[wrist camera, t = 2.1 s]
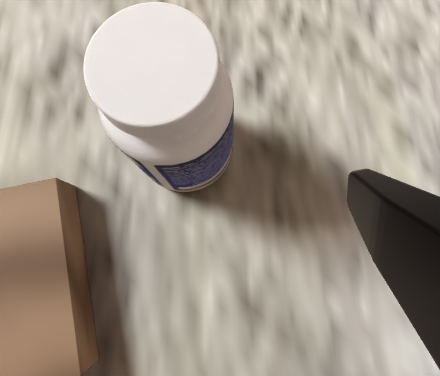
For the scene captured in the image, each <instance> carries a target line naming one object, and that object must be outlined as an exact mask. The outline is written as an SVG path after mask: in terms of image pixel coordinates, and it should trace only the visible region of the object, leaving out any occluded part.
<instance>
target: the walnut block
mask: <svg viewBox="0 0 440 376" xmlns="http://www.w3.org/2000/svg"><path fill="white" fill-rule="evenodd" d="M98 360H99V355H98V348H97V340H96V333H95V326H94V318H93V311H92V304H91V296H90V289H89V282H88V274H87V267H86V260H85V252H84V245H83V237H82V230H81V223H80V215H79V208H78V201H77V193H76V186H74V185H71V184H69V183H67V182H64V181H62V180H59V179H57V178H52V179H48V180H43V181H38V182H33V183H28V184H23V185H18V186H14V187H9V188H4V189H0V376H80V375H82V374H83V373H84V372H85V371H86V370H87V369H89V368H90V367H91V366H92V365H93V364H95V363H96V362H97V361H98Z"/></svg>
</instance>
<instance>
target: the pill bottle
mask: <svg viewBox="0 0 440 376" xmlns="http://www.w3.org/2000/svg"><path fill="white" fill-rule="evenodd" d="M84 78H85V83H86V87H87V89H88V92H89V94H90V97H91V98H92V100H93V101H94V103H95V104H96V106H97V107H98V110H99V115H100V119H101V122H102V125H103V127H104V129H105V131H106V133H107V134H108V136H109V137H110V139H111V140H112V141H113V143H114V144H115V145H116V146H117V147H118V148H119V149H120V150H121V151H122V152H123V153H124V154H125V155H126V156H128V157H129V158H130V159H131V160H132V161H133V162H134V163H135V164H136V165H137V166H138V167H139V168H140V169H141V170H142V171H143V172H144V173H146V174H147V175H148V176H149V177H150V178H151V179H152V180H153V181H155V182H156V183H158V184H159V185H161V186H163V187H165V188H167V189H170V190H174V191H180V192H190V191H195V190H199V189H202V188H204V187H207V186H208V185H210V184H212V183H213V182H214V181H216V180H217V179H218V178H219V177H220V176H221V175H222V173H223V172H224V171H225V169H226V168H227V166H228V164H229V161H230V159H231V155H232V150H233V111H234V98H233V89H232V84H231V80H230V78H229V75H228V72H227V71H226V69H225V67H224V65H223V64H222V62H221V61H220V58H219V51H218V48H217V44H216V41H215V39H214V37H213V35H212V33H211V31H210V30H209V28H208V27H207V26H206V25H205V23H204V22H203V21H202V20H201V19H200V18H199V17H197V16H196V15H195V14H193V13H192V12H190V11H188V10H187V9H185V8H182V7H180V6H177V5H173V4H169V3H164V2H147V3H141V4H137V5H133V6H130V7H127V8H125V9H123V10H121V11H119V12H117V13H116V14H114V15H113V16H111V17H110V18H109V19H107V20H106V21H105V22H104V23H103V24H102V25H101V26H100V27H99V28H98V30H97V31H96V32H95V34H94V35H93V37H92V39H91V40H90V42H89V45H88V47H87V50H86V53H85V58H84Z"/></svg>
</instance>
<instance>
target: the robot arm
mask: <svg viewBox="0 0 440 376" xmlns="http://www.w3.org/2000/svg"><path fill="white" fill-rule="evenodd" d="M347 203H348V207H349V210H350V212H351V214H352V216H353V218H354V221H355V223H356V225H357V227H358V229H359V231H360V234H361V236H362V238H363V240H364V242H365V244H366V247H367V249H368V251H369V253H370V255H371V257H372V259H373V261H374V263H375V264H376V266H377V268H378V270H379V271H380V273H381V274H382V276H383V278H384V279H385V281H386V283H387V284H388V286H389V288H390V289H391V291H392V292H393V294H394V296H395V297H396V299H397V301H398V302H399V304H400V305H401V307H402V309H403V310H404V312H405V314H406V315H407V317H408V319H409V320H410V322H411V323H412V325H413V327H414V328H415V330H416V332H417V333H418V335H419V336H420V338H421V340H422V341H423V343H424V345H425V346H426V348H427V350H428V351H429V353H430V354H431V356H432V358H433V359H434V361H435V363H436V364H437V366H438V367H439V369H440V197H439V196H436V195H434V194H431V193H429V192H426V191H424V190H421V189H419V188H416V187H413V186H411V185H408V184H406V183H403V182H401V181H398V180H396V179H393V178H390V177H388V176H385V175H383V174H380V173H378V172H375V171H373V170H370V169H361V170H356V171H352V172H351V173H350V174H349V177H348V191H347Z"/></svg>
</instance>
